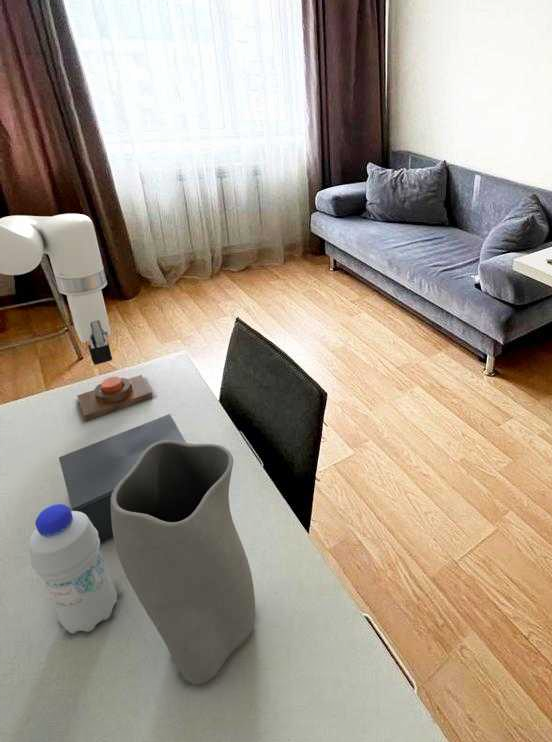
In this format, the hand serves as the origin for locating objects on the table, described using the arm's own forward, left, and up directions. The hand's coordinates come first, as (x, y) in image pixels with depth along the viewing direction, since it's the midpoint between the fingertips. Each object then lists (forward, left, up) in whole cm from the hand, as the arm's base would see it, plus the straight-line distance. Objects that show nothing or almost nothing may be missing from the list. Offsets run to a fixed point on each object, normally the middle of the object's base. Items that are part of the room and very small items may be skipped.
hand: (102, 360), depth 101 cm
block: (0, 0, -11) cm, 11 cm away
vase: (-1, -61, -11) cm, 62 cm away
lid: (-2, -30, -2) cm, 30 cm away
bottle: (-12, -47, -11) cm, 50 cm away
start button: (0, 0, -7) cm, 7 cm away
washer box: (-3, -30, -11) cm, 32 cm away
